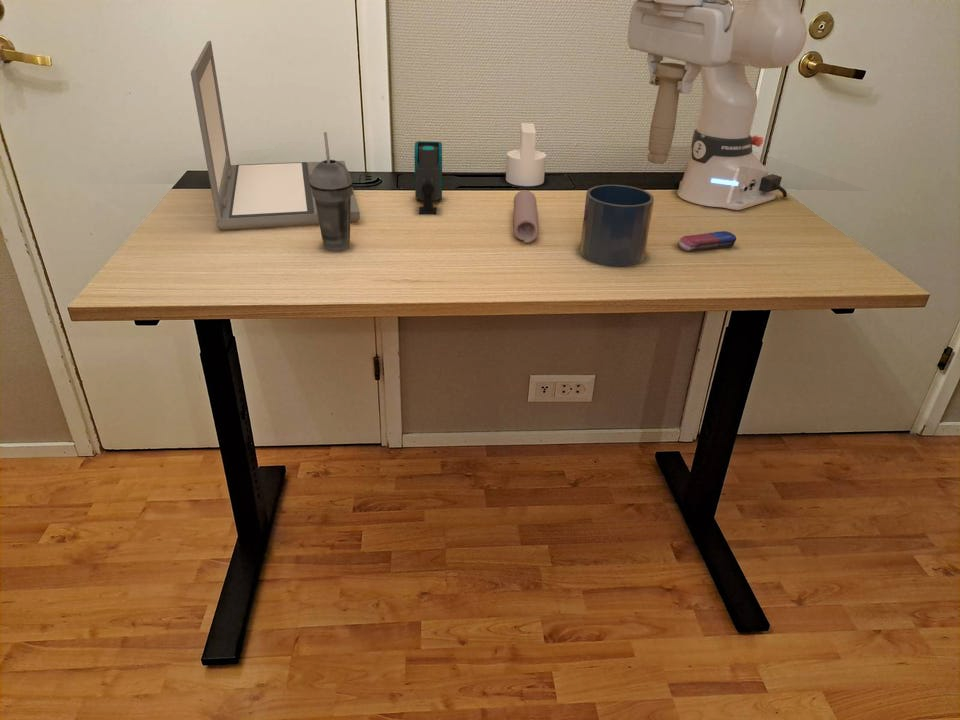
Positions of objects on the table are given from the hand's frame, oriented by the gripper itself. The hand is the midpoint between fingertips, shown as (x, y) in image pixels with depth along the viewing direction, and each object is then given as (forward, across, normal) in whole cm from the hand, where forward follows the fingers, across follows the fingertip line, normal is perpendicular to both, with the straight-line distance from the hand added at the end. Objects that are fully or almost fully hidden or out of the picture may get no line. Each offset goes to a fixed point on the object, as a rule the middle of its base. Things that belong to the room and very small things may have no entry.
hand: (669, 88), depth 110 cm
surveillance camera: (+29, +40, +25) cm, 55 cm away
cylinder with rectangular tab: (+29, +48, -3) cm, 56 cm away
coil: (+29, +22, +12) cm, 38 cm away
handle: (+12, 0, 0) cm, 12 cm away
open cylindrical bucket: (+29, +4, +4) cm, 30 cm away
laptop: (+29, +55, +50) cm, 80 cm away
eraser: (+29, 0, -15) cm, 33 cm away
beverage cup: (+29, +26, +49) cm, 62 cm away
